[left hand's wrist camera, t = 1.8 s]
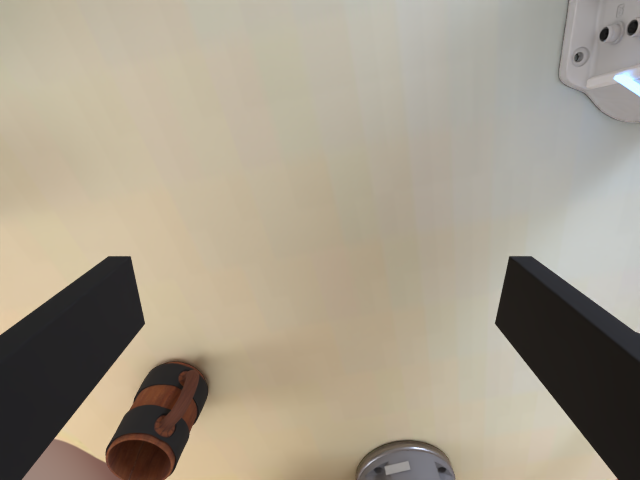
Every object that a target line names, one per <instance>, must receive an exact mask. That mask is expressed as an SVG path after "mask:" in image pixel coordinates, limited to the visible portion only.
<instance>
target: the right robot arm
mask: <svg viewBox="0 0 640 480" xmlns="http://www.w3.org/2000/svg"><path fill="white" fill-rule="evenodd" d="M576 54H578V60H577V61H575V60H574V57H575V55H576ZM559 78H560V80H561V81H562V83H564V84H565V85H567V86H569V87H571V88H574V89H576V90H579V91H582V92H584V93H585V94H586V95H587V96H588V97H589V98H590V99H591V100H592V101H593V103H594V104H595V105H596V106H597V107H598V108H599V109H600V110H601V111H602V112H604V113H605V114H606V115H608V116H610V117H612V118H614V119H617V120H620V121H624V122H632V123H640V0H569V7H568V13H567V20H566V27H565V34H564V41H563V48H562V54H561V61H560V68H559Z"/></svg>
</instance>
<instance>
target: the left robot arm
mask: <svg viewBox="0 0 640 480" xmlns="http://www.w3.org/2000/svg"><path fill="white" fill-rule="evenodd" d="M144 324H145V321H144V317H143V312H142V307H141V303H140V298H139V293H138V289H137V284H136V279H135V275H134V270H133V265H132V260H131V256H108V257H107V258H106V259H104V260H103V261H102V262H100V263H99V264H97V265H96V266H95V267H93V268H92V269H91V270H89V271H88V272H86V273H85V274H84V275H82V276H81V277H80V278H78V279H77V280H75V281H74V282H73V283H71V284H70V285H69V286H67V287H66V288H64V289H63V290H62V291H60V292H59V293H58V294H56V295H55V296H53V297H52V298H51V299H49V300H48V301H47V302H45V303H44V304H42V305H41V306H40V307H38V308H37V309H36V310H34V311H33V312H32V313H30V314H29V315H27V316H26V317H25V318H23V319H22V320H21V321H19V322H18V323H16V324H15V325H14V326H12V327H11V328H10V329H8V330H7V331H5V332H4V333H3V334H1V335H0V480H22V478H23V477H24V476H25V475H26V473H27V472H28V471H29V470H30V468H31V467H32V466H33V465H34V463H35V462H36V461H37V460H38V458H39V457H40V456H41V454H42V453H43V452H44V451H45V449H46V448H47V447H48V446H49V444H50V443H51V442H52V441H53V439H54V438H55V437H56V436H57V434H58V433H59V432H60V430H61V429H62V428H63V427H64V425H65V424H66V423H67V422H68V420H69V419H70V418H71V417H72V415H73V414H74V413H75V411H76V410H77V409H78V408H79V406H80V405H81V404H82V403H83V401H84V400H85V399H86V398H87V396H88V395H89V394H90V393H91V391H92V390H93V389H94V387H95V386H96V385H97V384H98V382H99V381H100V380H101V379H102V377H103V376H104V375H105V374H106V372H107V371H108V370H109V369H110V367H111V366H112V365H113V363H114V362H115V361H116V360H117V358H118V357H119V356H120V355H121V353H122V352H123V351H124V350H125V348H126V347H127V346H128V344H129V343H130V342H131V341H132V339H133V338H134V337H135V336H136V334H137V333H138V332H139V331H140V329H141V328H142V327H143V326H144ZM495 324H496V326H497V327H498V328H499V329H500V331H501V332H502V333H503V334H504V336H505V337H506V338H507V339H508V341H509V342H510V343H511V344H512V346H513V347H514V348H515V350H516V351H517V352H518V353H519V355H520V356H521V357H522V358H523V360H524V361H525V362H526V363H527V365H528V366H529V367H530V369H531V370H532V371H533V372H534V374H535V375H536V376H537V377H538V379H539V380H540V381H541V382H542V384H543V385H544V386H545V387H546V389H547V390H548V391H549V393H550V394H551V395H552V396H553V398H554V399H555V400H556V401H557V403H558V404H559V405H560V406H561V408H562V409H563V410H564V411H565V413H566V414H567V415H568V417H569V418H570V419H571V420H572V422H573V423H574V424H575V425H576V427H577V428H578V429H579V430H580V432H581V433H582V434H583V436H584V437H585V438H586V439H587V441H588V442H589V443H590V444H591V446H592V447H593V448H594V449H595V451H596V452H597V453H598V454H599V456H600V457H601V458H602V460H603V461H604V462H605V463H606V465H607V466H608V467H609V468H610V470H611V471H612V472H613V473H614V475H615V476H616V477H617V479H618V480H640V334H639V333H637V332H635V331H633V330H632V329H630V328H629V327H628V326H626V325H625V324H624V323H622V322H621V321H619V320H618V319H617V318H615V317H614V316H613V315H611V314H610V313H608V312H607V311H606V310H604V309H603V308H602V307H600V306H599V305H598V304H596V303H595V302H593V301H592V300H591V299H589V298H588V297H587V296H585V295H584V294H582V293H581V292H580V291H578V290H577V289H576V288H574V287H573V286H571V285H570V284H569V283H567V282H566V281H565V280H563V279H562V278H560V277H559V276H558V275H556V274H555V273H554V272H552V271H551V270H549V269H548V268H547V267H545V266H544V265H543V264H541V263H540V262H538V261H537V260H536V259H534V258H533V257H532V256H509V260H508V265H507V270H506V275H505V279H504V284H503V289H502V293H501V298H500V303H499V307H498V312H497V317H496V321H495ZM356 480H455V475H454V472H453V469H452V466H451V463H450V461H449V459H448V458H447V456H446V455H445V454H444V453H443V452H442V451H440V450H439V449H437V448H436V447H434V446H432V445H429V444H426V443H422V442H416V441H400V442H393V443H389V444H386V445H383V446H381V447H379V448H377V449H375V450H373V451H372V452H370V453H369V454H368V455H367V456H365V457H364V459H363V460H362V461H361V462H360V464H359V466H358V468H357V471H356Z"/></svg>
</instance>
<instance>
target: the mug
mask: <svg viewBox="0 0 640 480" xmlns="http://www.w3.org/2000/svg"><path fill="white" fill-rule="evenodd" d="M207 395H208V387H207V384H206V381H205V379H204V377H203V375H202V374H201V373H200V372H199V371H198V370H197V369H196V368H194V367H193V366H191V365H188V364H186V363H181V362H169V363H165V364H162V365H159V366H157V367H155V368H154V369H152V370H151V371H150V372H149V374H148V375H147V376H146V378H145V379H144V381H143V383H142V384H141V386H140V388H139V390H138V392H137V394H136V396H135V398H134V402H133V405H132V407H131V408H130V410H129V411H128V412H127V413H126V414H125V416H124V417H123V419H122V421H121V423H120V425H119V427H118V429H117V431H116V433H115V434H114V436H113V438H112V440H111V441H110V443H109V445H108V446H107V448H106V463H107V466H108V467H109V469H110V470H111V472H112V473H113V474H115V475H116V476H117V477H118V478H120V479H122V480H165V479H166V478H167V477H168V476H170V475H171V474H172V473H173V471H174V470H175V468H176V465H177V463H178V460H179V458H180V456H181V454H182V451H183V449H184V447H185V445H186V443H187V441H188V438H189V433H190V430H191V428H192V426H193V425H194V424H195V422H196V421H197V419H198V417H199V415H200V413H201V411H202V408H203V406H204V404H205V401H206V398H207Z"/></svg>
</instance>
